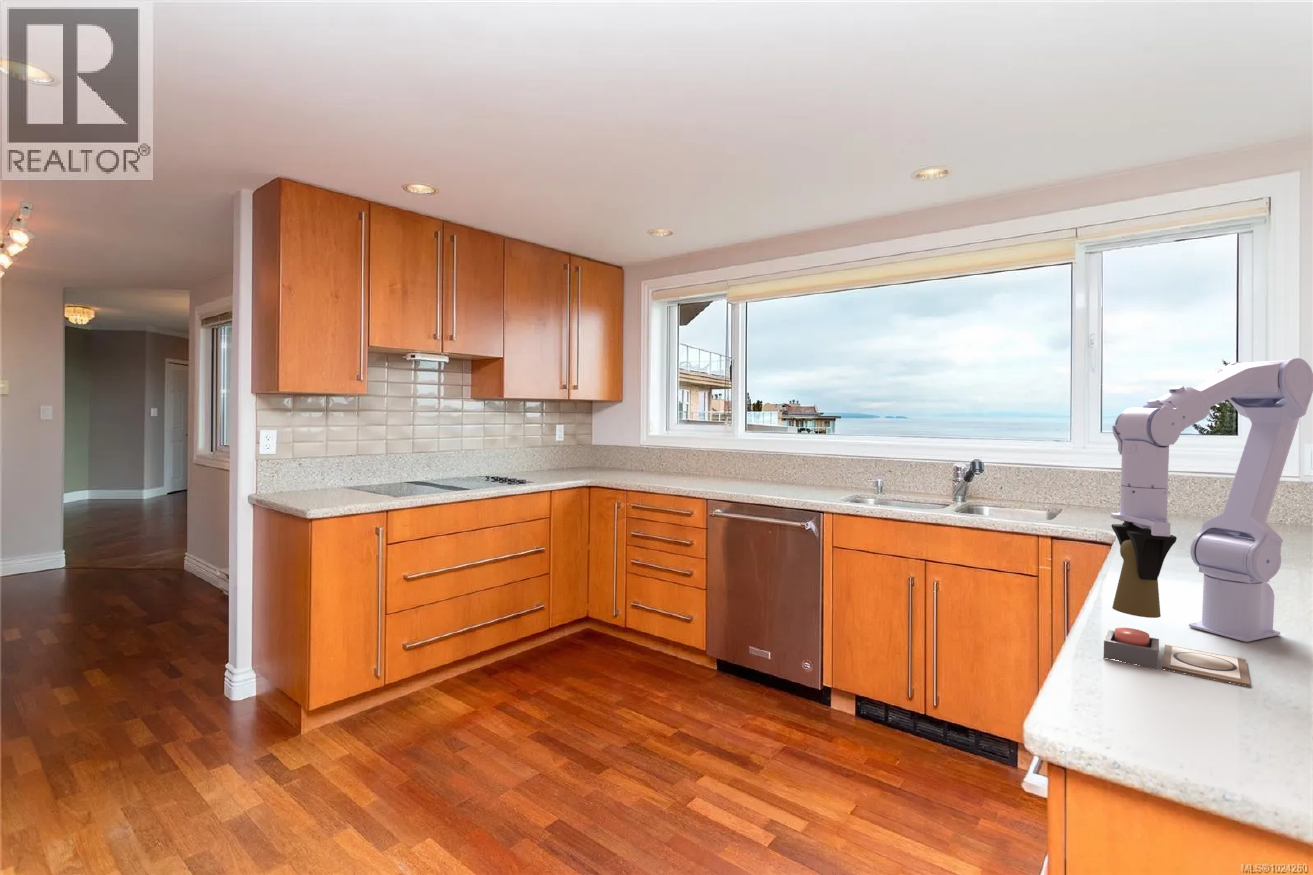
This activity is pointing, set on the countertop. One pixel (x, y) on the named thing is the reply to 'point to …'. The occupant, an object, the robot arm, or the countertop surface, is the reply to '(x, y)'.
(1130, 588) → the brown tapered cone
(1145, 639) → the button
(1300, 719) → the countertop surface
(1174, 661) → the sketch board
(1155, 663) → the button housing
